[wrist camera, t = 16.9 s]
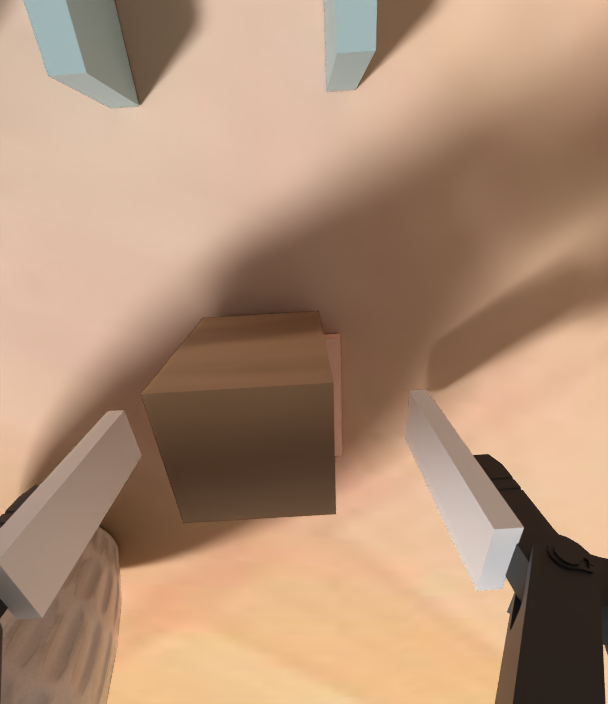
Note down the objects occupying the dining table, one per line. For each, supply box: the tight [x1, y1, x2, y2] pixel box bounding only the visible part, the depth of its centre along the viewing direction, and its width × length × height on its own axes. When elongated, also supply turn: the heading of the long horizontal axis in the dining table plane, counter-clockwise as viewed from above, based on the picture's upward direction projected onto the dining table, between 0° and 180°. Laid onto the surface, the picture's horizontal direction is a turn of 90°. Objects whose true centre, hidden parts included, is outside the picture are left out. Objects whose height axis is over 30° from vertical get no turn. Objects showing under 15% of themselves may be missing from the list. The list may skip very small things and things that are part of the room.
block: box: [141, 311, 336, 523], centre depth 12 cm, size 5×5×6 cm
